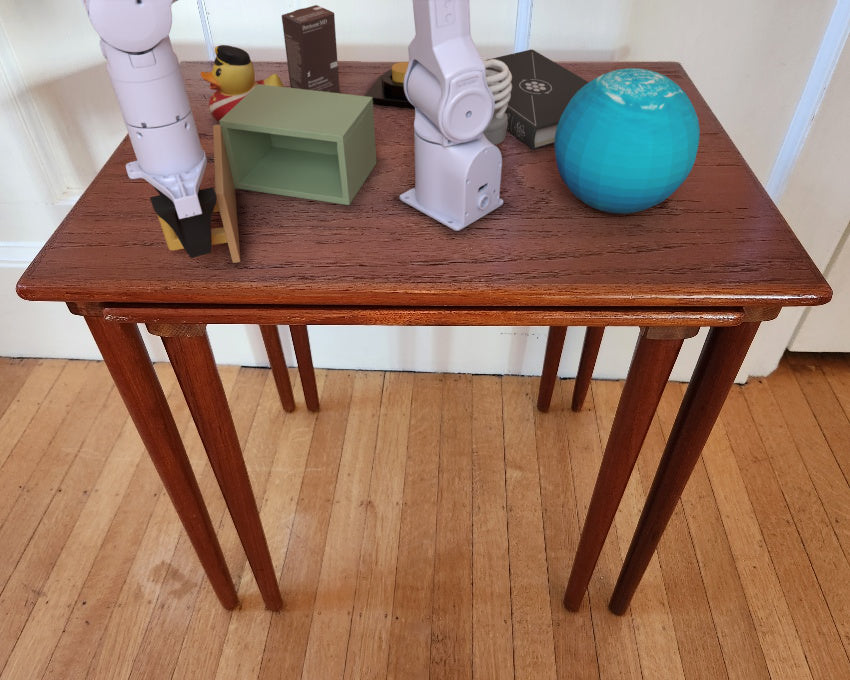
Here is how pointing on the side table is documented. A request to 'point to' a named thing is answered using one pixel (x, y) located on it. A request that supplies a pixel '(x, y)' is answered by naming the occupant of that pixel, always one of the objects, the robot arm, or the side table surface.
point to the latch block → (388, 92)
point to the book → (537, 96)
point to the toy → (232, 79)
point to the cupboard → (301, 143)
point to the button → (399, 71)
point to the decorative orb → (627, 141)
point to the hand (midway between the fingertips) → (196, 241)
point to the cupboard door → (217, 203)
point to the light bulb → (498, 99)
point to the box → (311, 49)
